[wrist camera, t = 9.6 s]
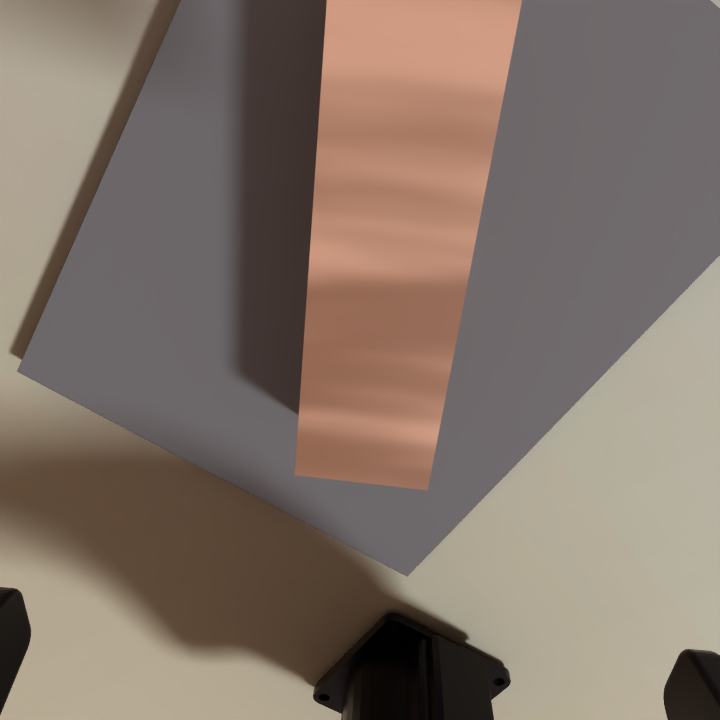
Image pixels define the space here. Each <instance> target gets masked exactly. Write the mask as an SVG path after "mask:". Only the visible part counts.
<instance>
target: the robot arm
mask: <svg viewBox="0 0 720 720" xmlns="http://www.w3.org/2000/svg"><path fill="white" fill-rule="evenodd" d="M30 638H31V627H30V623H29V619H28V615H27V611H26V608H25V604H24V600H23V596H22V593H21V592H20V591H19V590H18V589H15V588H4V587H0V715H1V712H2V710H3V707H4V705H5V702H6V700H7V698H8V695H9V693H10V690H11V688H12V685H13V683H14V681H15V678H16V676H17V673H18V671H19V668H20V666H21V664H22V661H23V659H24V656H25V654H26V651H27V649H28V646H29V643H30ZM510 682H511V680H510V675H509V671H508V669H506V668H505V667H503V666H501V665H499V664H497V663H495V662H493V661H491V660H489V659H487V658H485V657H483V656H481V655H479V654H478V653H476V652H474V651H472V650H470V649H468V648H466V647H464V646H462V645H460V644H458V643H456V642H454V641H452V640H450V639H448V638H446V637H444V636H442V635H440V634H438V633H436V632H434V631H432V630H430V629H428V628H426V627H424V626H422V625H421V624H419V623H417V622H415V621H413V620H411V619H409V618H407V617H405V616H403V615H401V614H398V613H389V614H386V615H385V616H383V617H382V618H381V619H380V620H379V621H378V622H377V623H376V624H375V626H374V627H373V628H372V629H371V630H370V631H369V632H368V633H367V634H366V635H365V636H364V637H363V638H362V639H361V640H360V641H359V642H358V643H357V644H356V645H355V646H354V647H353V648H352V649H351V650H350V651H349V652H348V653H347V654H346V655H345V656H344V657H343V658H342V659H341V660H340V661H339V662H338V663H337V664H336V665H335V666H334V667H333V668H332V669H331V670H330V671H329V672H328V673H327V674H326V675H325V676H324V677H323V678H322V679H321V680H320V681H319V682H318V683H317V684H316V685H315V687H314V694H313V698H314V700H315V701H316V702H318V703H319V704H321V705H324V706H326V707H328V708H330V709H332V710H335V711H337V712H339V713H341V714H342V717H341V720H494V717H493V710H492V703H491V700H492V699H493V698H494V697H496V696H497V695H498V694H499V693H501V692H502V691H503V690H504V689H506V688H507V687H508V686H509V685H510ZM664 705H665V710H666V714H667V718H668V720H720V655H718V654H717V653H715V652H712V651H705V650H694V649H685V650H684V651H682V652H681V653H680V655H679V656H678V659H677V661H676V663H675V665H674V667H673V669H672V672H671V674H670V676H669V678H668V680H667V682H666V685H665V688H664Z"/></svg>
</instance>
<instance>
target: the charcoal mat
mask: <svg viewBox="0 0 720 720" xmlns="http://www.w3.org/2000/svg"><path fill="white" fill-rule="evenodd" d="M326 5H327V0H181V1H180V3H179V6H178V8H177V10H176V13H175V15H174V17H173V19H172V22H171V24H170V26H169V28H168V31H167V33H166V35H165V37H164V40H163V42H162V44H161V47H160V49H159V51H158V53H157V56H156V58H155V60H154V62H153V65H152V67H151V69H150V71H149V74H148V76H147V78H146V80H145V83H144V85H143V87H142V90H141V92H140V94H139V96H138V99H137V101H136V103H135V105H134V108H133V110H132V112H131V114H130V117H129V119H128V121H127V123H126V126H125V128H124V130H123V133H122V135H121V137H120V139H119V142H118V144H117V146H116V148H115V151H114V153H113V155H112V157H111V160H110V162H109V164H108V166H107V169H106V171H105V173H104V176H103V178H102V180H101V182H100V185H99V187H98V189H97V191H96V194H95V196H94V198H93V200H92V203H91V205H90V207H89V209H88V212H87V214H86V216H85V219H84V221H83V223H82V225H81V228H80V230H79V232H78V234H77V237H76V239H75V241H74V243H73V246H72V248H71V250H70V253H69V255H68V257H67V259H66V262H65V264H64V266H63V268H62V271H61V273H60V275H59V277H58V280H57V282H56V284H55V286H54V289H53V291H52V293H51V296H50V298H49V300H48V302H47V305H46V307H45V309H44V311H43V314H42V316H41V318H40V320H39V323H38V325H37V327H36V329H35V332H34V334H33V336H32V339H31V341H30V343H29V345H28V348H27V350H26V352H25V354H24V357H23V359H22V361H21V363H20V366H19V368H18V370H17V372H19V373H21V374H23V375H25V376H26V377H28V378H30V379H32V380H34V381H36V382H38V383H40V384H42V385H44V386H45V387H47V388H49V389H51V390H53V391H55V392H57V393H59V394H61V395H63V396H65V397H66V398H68V399H70V400H72V401H74V402H76V403H78V404H80V405H82V406H84V407H85V408H87V409H89V410H91V411H93V412H95V413H97V414H99V415H101V416H103V417H104V418H106V419H108V420H110V421H112V422H114V423H116V424H118V425H120V426H122V427H123V428H125V429H127V430H129V431H131V432H133V433H135V434H137V435H139V436H141V437H142V438H144V439H146V440H148V441H150V442H152V443H154V444H156V445H158V446H160V447H162V448H163V449H165V450H167V451H169V452H171V453H173V454H175V455H177V456H179V457H181V458H182V459H184V460H186V461H188V462H190V463H192V464H194V465H196V466H198V467H200V468H201V469H203V470H205V471H207V472H209V473H211V474H213V475H215V476H217V477H219V478H220V479H222V480H224V481H226V482H228V483H230V484H232V485H234V486H236V487H238V488H240V489H241V490H243V491H245V492H247V493H249V494H251V495H253V496H255V497H257V498H259V499H260V500H262V501H264V502H266V503H268V504H270V505H272V506H274V507H276V508H278V509H279V510H281V511H283V512H285V513H287V514H289V515H291V516H293V517H295V518H297V519H298V520H300V521H302V522H304V523H306V524H308V525H310V526H312V527H314V528H316V529H317V530H319V531H321V532H323V533H325V534H327V535H329V536H331V537H333V538H335V539H337V540H338V541H340V542H342V543H344V544H346V545H348V546H350V547H352V548H354V549H356V550H357V551H359V552H361V553H363V554H365V555H367V556H369V557H371V558H373V559H375V560H376V561H378V562H380V563H382V564H384V565H386V566H388V567H390V568H392V569H394V570H395V571H397V572H399V573H401V574H403V575H405V576H408V575H409V574H410V573H411V572H412V571H413V570H414V569H415V568H416V567H417V566H418V565H419V564H420V563H421V562H422V561H423V560H424V559H425V558H426V557H427V556H428V555H429V554H430V553H431V552H432V551H433V549H434V548H435V547H436V546H437V545H438V544H439V543H440V542H441V541H442V540H443V539H444V538H445V537H446V536H447V535H448V534H449V533H450V532H451V531H452V530H453V529H454V528H455V527H456V526H457V525H458V524H459V523H460V522H461V521H462V520H463V519H464V518H465V517H466V516H467V515H468V513H469V512H470V511H471V510H472V509H473V508H474V507H475V506H476V505H477V504H478V503H479V502H480V501H481V500H482V499H483V498H484V497H485V496H486V495H487V494H488V493H489V492H490V491H491V490H492V489H493V488H494V487H495V486H496V485H497V484H498V483H499V482H500V481H501V480H502V478H503V477H504V476H505V475H506V474H507V473H508V472H509V471H510V470H511V469H512V468H513V467H514V466H515V465H516V464H517V463H518V462H519V461H520V460H521V459H522V458H523V457H524V456H525V455H526V454H527V453H528V452H529V451H530V450H531V449H532V448H533V447H534V446H535V445H536V444H537V442H538V441H539V440H540V439H541V438H542V437H543V436H544V435H545V434H546V433H547V432H548V431H549V430H550V429H551V428H552V427H553V426H554V425H555V424H556V423H557V422H558V421H559V420H560V419H561V418H562V417H563V416H564V415H565V414H566V413H567V412H568V411H569V410H570V409H571V407H572V406H573V405H574V404H575V403H576V402H577V401H578V400H579V399H580V398H581V397H582V396H583V395H584V394H585V393H586V392H587V391H588V390H589V389H590V388H591V387H592V386H593V385H594V384H595V383H596V382H597V381H598V380H599V379H600V378H601V377H602V376H603V375H604V374H605V373H606V371H607V370H608V369H609V368H610V367H611V366H612V365H613V364H614V363H615V362H616V361H617V360H618V359H619V358H620V357H621V356H622V355H623V354H624V353H625V352H626V351H627V350H628V349H629V348H630V347H631V346H632V345H633V344H634V343H635V342H636V341H637V340H638V339H639V338H640V337H641V335H642V334H643V333H644V332H645V331H646V330H647V329H648V328H649V327H650V326H651V325H652V324H653V323H654V322H655V321H656V320H657V319H658V318H659V317H660V316H661V315H662V314H663V313H664V312H665V311H666V310H667V309H668V308H669V307H670V306H671V305H672V304H673V303H674V302H675V300H676V299H677V298H678V297H679V296H680V295H681V294H682V293H683V292H684V291H685V290H686V289H687V288H688V287H689V286H690V285H691V284H692V283H693V282H694V281H695V280H696V279H697V278H698V277H699V276H700V275H701V274H702V273H703V272H704V271H705V270H706V269H707V268H708V267H709V266H710V264H711V263H712V262H713V261H714V260H715V259H716V258H717V257H718V256H719V255H720V9H719V8H718V7H717V6H716V5H715V4H714V3H713V2H711V1H710V0H522V4H521V9H520V14H519V19H518V24H517V30H516V35H515V40H514V45H513V50H512V55H511V61H510V66H509V71H508V76H507V81H506V87H505V92H504V97H503V102H502V107H501V112H500V118H499V123H498V128H497V133H496V138H495V144H494V149H493V154H492V159H491V164H490V170H489V175H488V180H487V185H486V190H485V195H484V201H483V206H482V211H481V216H480V221H479V227H478V232H477V237H476V242H475V247H474V252H473V258H472V263H471V268H470V273H469V278H468V284H467V289H466V294H465V299H464V304H463V310H462V315H461V320H460V325H459V330H458V335H457V341H456V346H455V351H454V356H453V361H452V367H451V372H450V377H449V382H448V387H447V393H446V398H445V403H444V408H443V413H442V418H441V424H440V429H439V434H438V439H437V444H436V450H435V455H434V460H433V465H432V470H431V475H430V481H429V486H428V490H420V489H411V488H403V487H394V486H385V485H376V484H368V483H359V482H350V481H342V480H333V479H324V478H315V477H307V476H298V475H295V463H296V448H297V433H298V419H299V404H300V389H301V374H302V360H303V345H304V330H305V315H306V301H307V286H308V271H309V256H310V242H311V227H312V212H313V197H314V183H315V168H316V153H317V138H318V124H319V109H320V94H321V79H322V64H323V50H324V35H325V20H326Z"/></svg>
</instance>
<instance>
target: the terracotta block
mask: <svg viewBox="0 0 720 720" xmlns="http://www.w3.org/2000/svg"><path fill="white" fill-rule="evenodd" d="M521 4H522V0H327V5H326V20H325V35H324V50H323V64H322V79H321V94H320V109H319V124H318V138H317V153H316V168H315V183H314V197H313V212H312V227H311V242H310V256H309V271H308V286H307V301H306V315H305V330H304V345H303V360H302V374H301V389H300V404H299V419H298V433H297V448H296V463H295V475H298V476H307V477H315V478H324V479H333V480H342V481H350V482H359V483H368V484H376V485H385V486H394V487H403V488H411V489H420V490H428V486H429V481H430V475H431V470H432V465H433V460H434V455H435V450H436V444H437V439H438V434H439V429H440V424H441V418H442V413H443V408H444V403H445V398H446V393H447V387H448V382H449V377H450V372H451V367H452V361H453V356H454V351H455V346H456V341H457V335H458V330H459V325H460V320H461V315H462V310H463V304H464V299H465V294H466V289H467V284H468V278H469V273H470V268H471V263H472V258H473V252H474V247H475V242H476V237H477V232H478V227H479V221H480V216H481V211H482V206H483V201H484V195H485V190H486V185H487V180H488V175H489V170H490V164H491V159H492V154H493V149H494V144H495V138H496V133H497V128H498V123H499V118H500V112H501V107H502V102H503V97H504V92H505V87H506V81H507V76H508V71H509V66H510V61H511V55H512V50H513V45H514V40H515V35H516V30H517V24H518V19H519V14H520V9H521Z"/></svg>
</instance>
